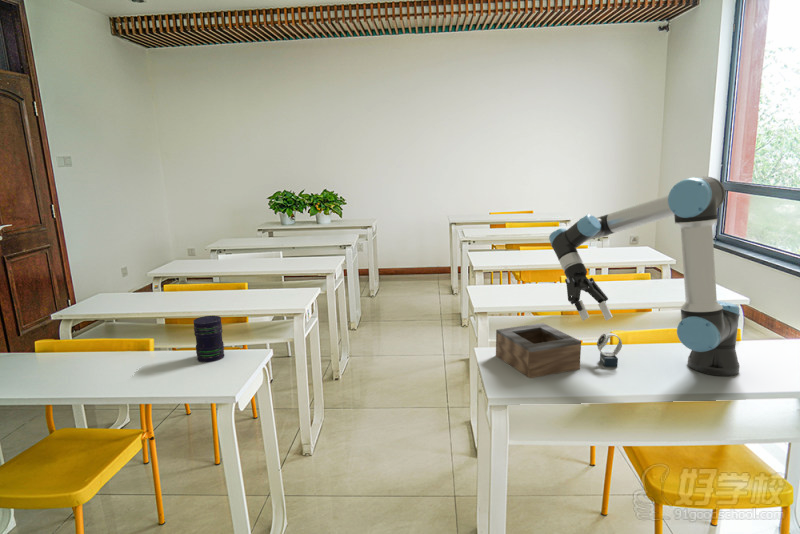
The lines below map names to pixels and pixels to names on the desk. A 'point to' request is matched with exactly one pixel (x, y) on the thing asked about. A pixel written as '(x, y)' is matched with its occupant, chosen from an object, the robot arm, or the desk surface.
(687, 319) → the robot arm
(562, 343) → the box
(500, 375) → the desk surface
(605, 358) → the watch
